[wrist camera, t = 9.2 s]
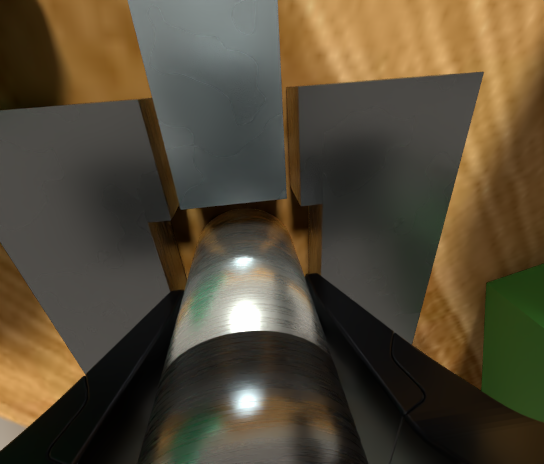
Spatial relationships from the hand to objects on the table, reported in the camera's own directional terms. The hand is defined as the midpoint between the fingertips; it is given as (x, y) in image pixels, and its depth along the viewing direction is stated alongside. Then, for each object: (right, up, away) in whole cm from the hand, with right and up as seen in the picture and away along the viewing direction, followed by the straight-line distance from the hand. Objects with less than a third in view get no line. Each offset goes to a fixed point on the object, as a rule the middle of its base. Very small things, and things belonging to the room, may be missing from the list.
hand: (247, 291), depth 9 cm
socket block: (0, +1, +2) cm, 2 cm away
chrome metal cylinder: (0, +1, +2) cm, 2 cm away
